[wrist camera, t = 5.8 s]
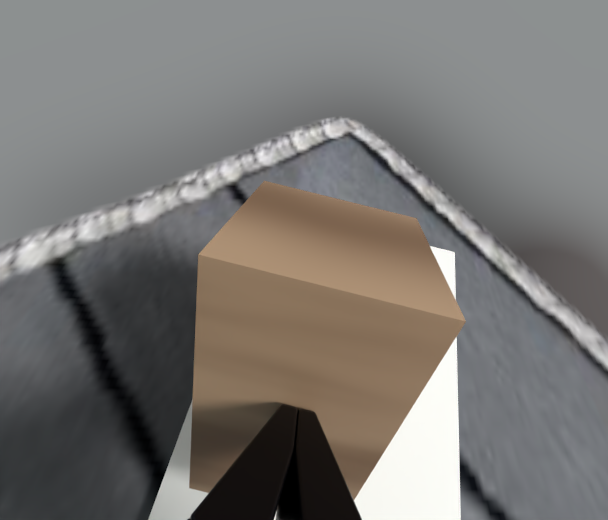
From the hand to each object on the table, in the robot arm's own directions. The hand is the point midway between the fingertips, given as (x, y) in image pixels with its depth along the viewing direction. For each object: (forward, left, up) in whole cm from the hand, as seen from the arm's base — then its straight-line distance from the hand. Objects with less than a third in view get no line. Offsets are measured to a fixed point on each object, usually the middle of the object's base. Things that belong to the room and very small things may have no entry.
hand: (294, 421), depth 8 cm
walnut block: (0, 0, -6) cm, 6 cm away
